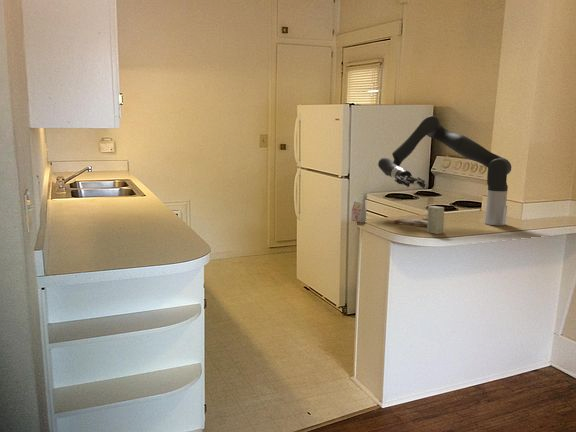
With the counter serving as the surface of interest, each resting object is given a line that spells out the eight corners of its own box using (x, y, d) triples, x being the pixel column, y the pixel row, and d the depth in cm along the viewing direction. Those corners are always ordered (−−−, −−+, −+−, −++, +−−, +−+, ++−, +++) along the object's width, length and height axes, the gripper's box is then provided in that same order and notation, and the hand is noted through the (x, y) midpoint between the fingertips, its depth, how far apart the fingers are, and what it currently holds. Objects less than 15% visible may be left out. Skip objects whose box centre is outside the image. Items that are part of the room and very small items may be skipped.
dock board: (441, 224, 256) (441, 220, 256) (432, 228, 247) (432, 223, 247) (404, 219, 268) (404, 215, 268) (394, 222, 259) (394, 218, 259)
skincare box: (443, 233, 235) (445, 207, 233) (436, 234, 233) (438, 208, 231) (432, 230, 241) (434, 205, 238) (426, 231, 238) (427, 206, 236)
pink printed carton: (356, 219, 266) (357, 200, 264) (365, 221, 261) (366, 202, 259) (351, 220, 264) (352, 201, 262) (360, 222, 258) (361, 203, 257)
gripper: (390, 167, 260) (405, 177, 245) (415, 169, 264) (431, 179, 250) (387, 181, 262) (402, 191, 248) (411, 183, 267) (427, 193, 252)
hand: (416, 185), depth 249 cm, fingers open, 8 cm apart
